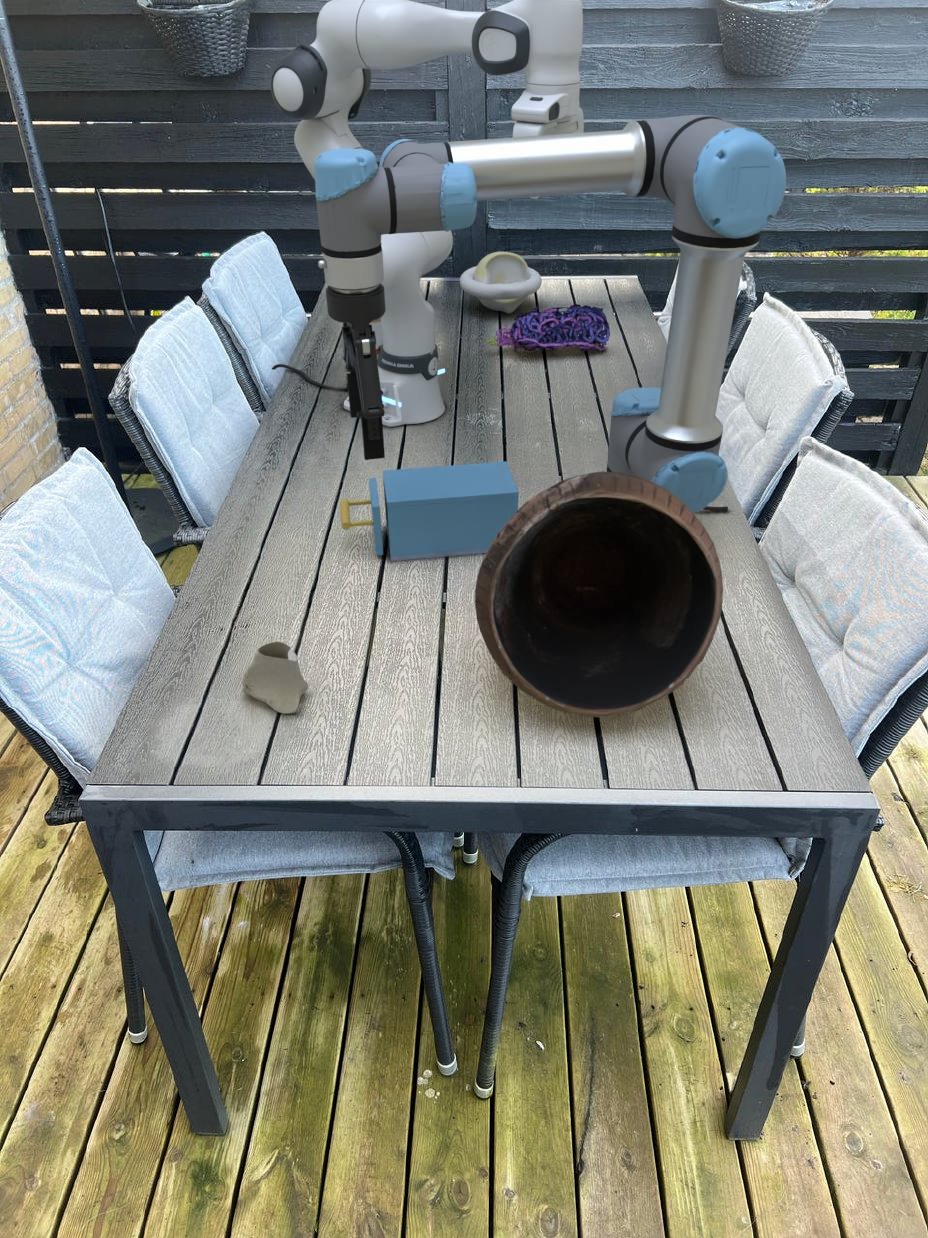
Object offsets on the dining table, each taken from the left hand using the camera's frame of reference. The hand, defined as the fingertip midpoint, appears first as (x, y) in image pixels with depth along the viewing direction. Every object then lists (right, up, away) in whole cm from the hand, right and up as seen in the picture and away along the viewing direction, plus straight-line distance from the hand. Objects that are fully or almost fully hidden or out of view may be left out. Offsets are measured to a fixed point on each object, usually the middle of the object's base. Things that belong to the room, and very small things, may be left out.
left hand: (548, 191), depth 161 cm
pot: (+4, -80, -25) cm, 84 cm away
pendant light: (-37, -6, +71) cm, 80 cm away
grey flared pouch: (-41, -85, -32) cm, 100 cm away
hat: (-5, +10, +92) cm, 92 cm away
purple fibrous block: (+6, -9, +67) cm, 68 cm away
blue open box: (-17, -60, 0) cm, 62 cm away
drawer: (-23, -60, -1) cm, 64 cm away
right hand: (-28, -48, -29) cm, 63 cm away
